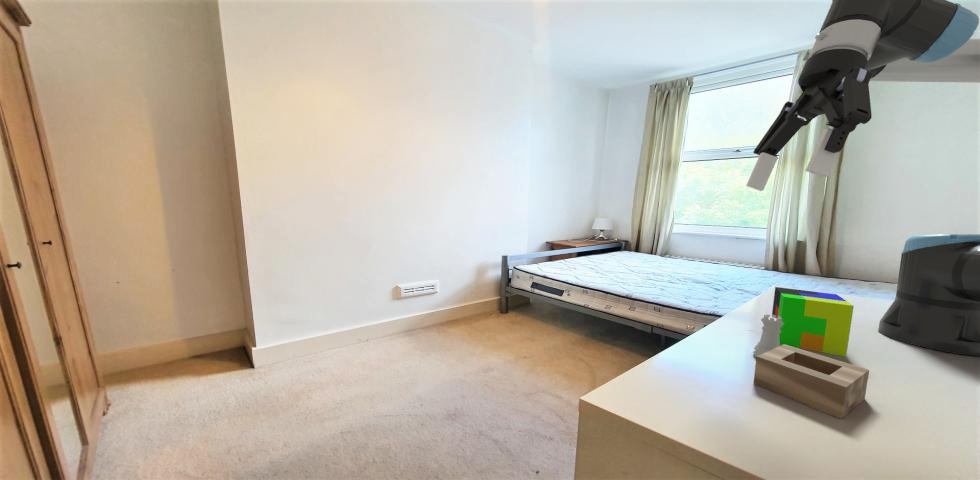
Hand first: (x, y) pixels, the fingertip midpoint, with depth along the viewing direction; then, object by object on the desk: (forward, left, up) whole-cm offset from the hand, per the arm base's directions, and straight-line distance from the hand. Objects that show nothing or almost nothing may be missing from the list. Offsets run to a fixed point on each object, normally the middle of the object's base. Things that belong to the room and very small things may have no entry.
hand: (781, 182), depth 56 cm
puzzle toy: (-22, -1, -32) cm, 39 cm away
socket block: (+3, +7, -32) cm, 33 cm away
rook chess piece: (-5, -1, -32) cm, 33 cm away
